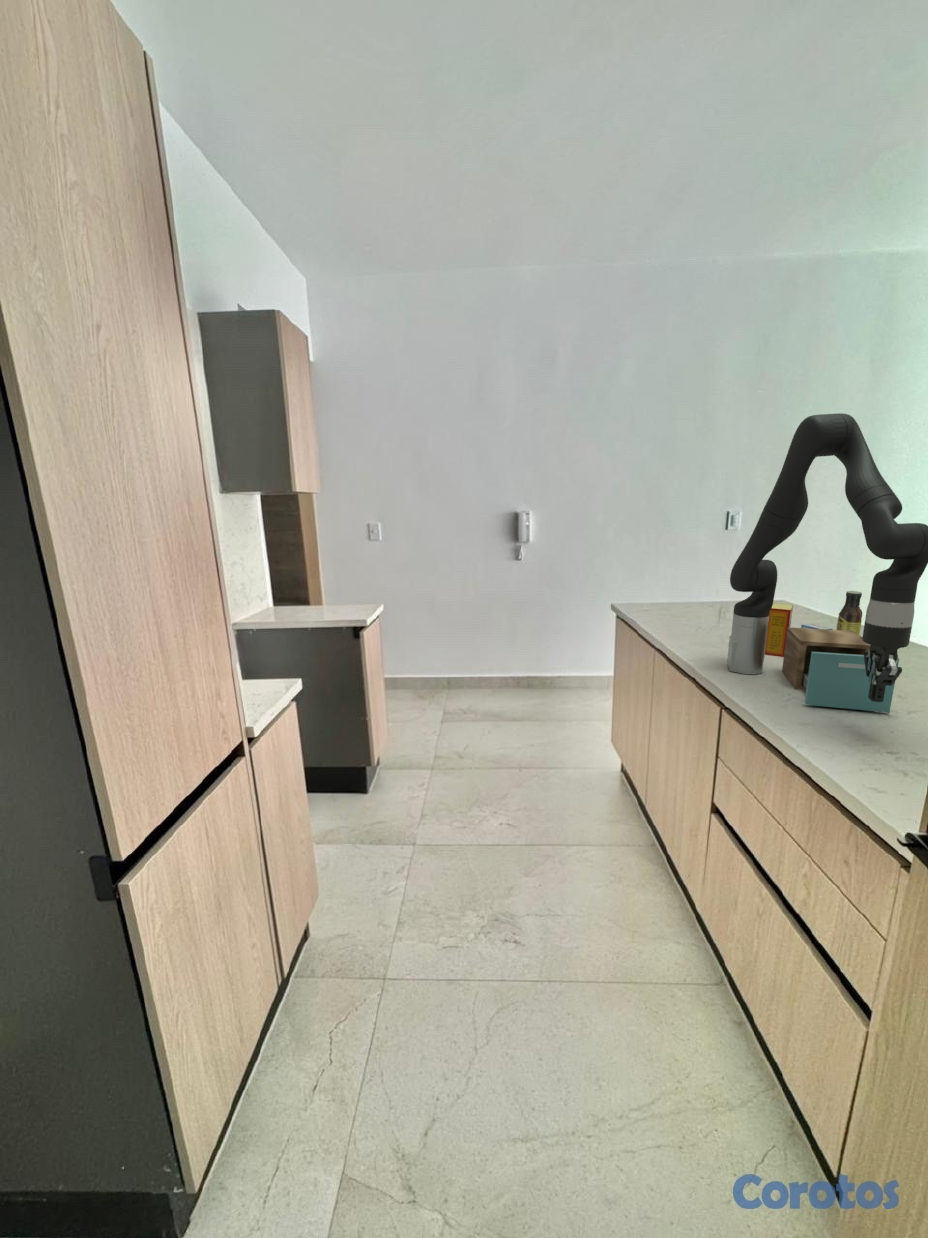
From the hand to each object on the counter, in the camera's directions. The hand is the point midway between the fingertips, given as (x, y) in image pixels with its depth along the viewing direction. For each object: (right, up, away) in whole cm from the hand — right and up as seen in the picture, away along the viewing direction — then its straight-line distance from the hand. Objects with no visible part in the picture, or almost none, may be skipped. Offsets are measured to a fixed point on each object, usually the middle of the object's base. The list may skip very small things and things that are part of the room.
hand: (875, 700), depth 108 cm
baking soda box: (+16, +6, +61) cm, 63 cm away
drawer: (+7, -3, +21) cm, 23 cm away
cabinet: (+12, 0, +33) cm, 35 cm away
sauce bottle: (+39, +7, +61) cm, 73 cm away
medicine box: (+29, +6, +60) cm, 67 cm away
